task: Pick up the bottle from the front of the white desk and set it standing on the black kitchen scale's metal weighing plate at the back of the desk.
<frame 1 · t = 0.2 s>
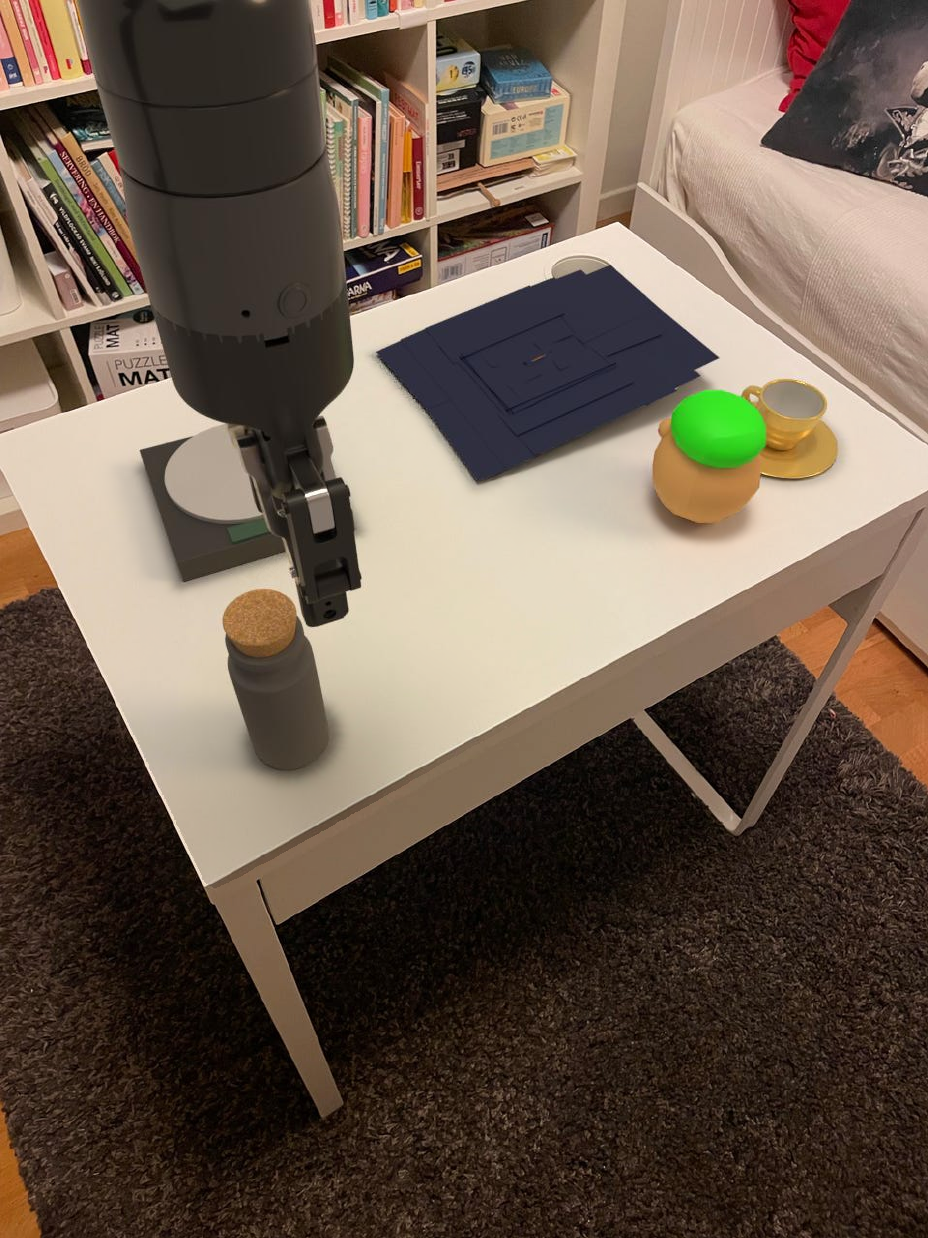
hand: (300, 559, 47), 25 cm above the table, tool pointing down, fingers open, 8 cm apart
scale: (247, 499, 85), on the table
bottle: (291, 738, 69), on the table
cup: (775, 442, 92), on the table
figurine: (690, 502, 86), on the table
papers: (544, 377, 98), on the table
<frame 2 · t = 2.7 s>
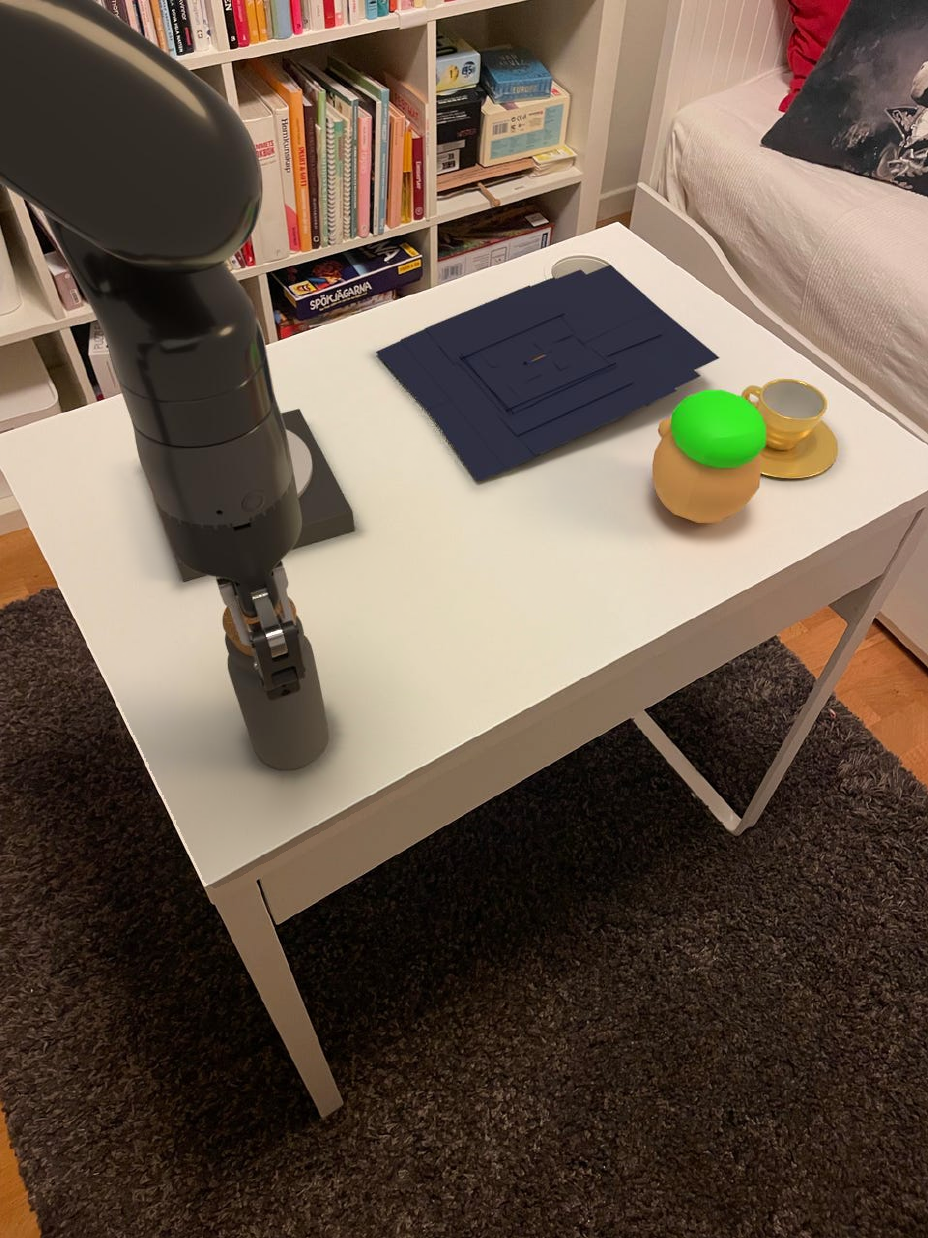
hand: (270, 656, 61), 11 cm above the table, tool pointing down, fingers closed on bottle, 5 cm apart
bottle: (291, 738, 69), on the table, touching gripper
everything else where it was.
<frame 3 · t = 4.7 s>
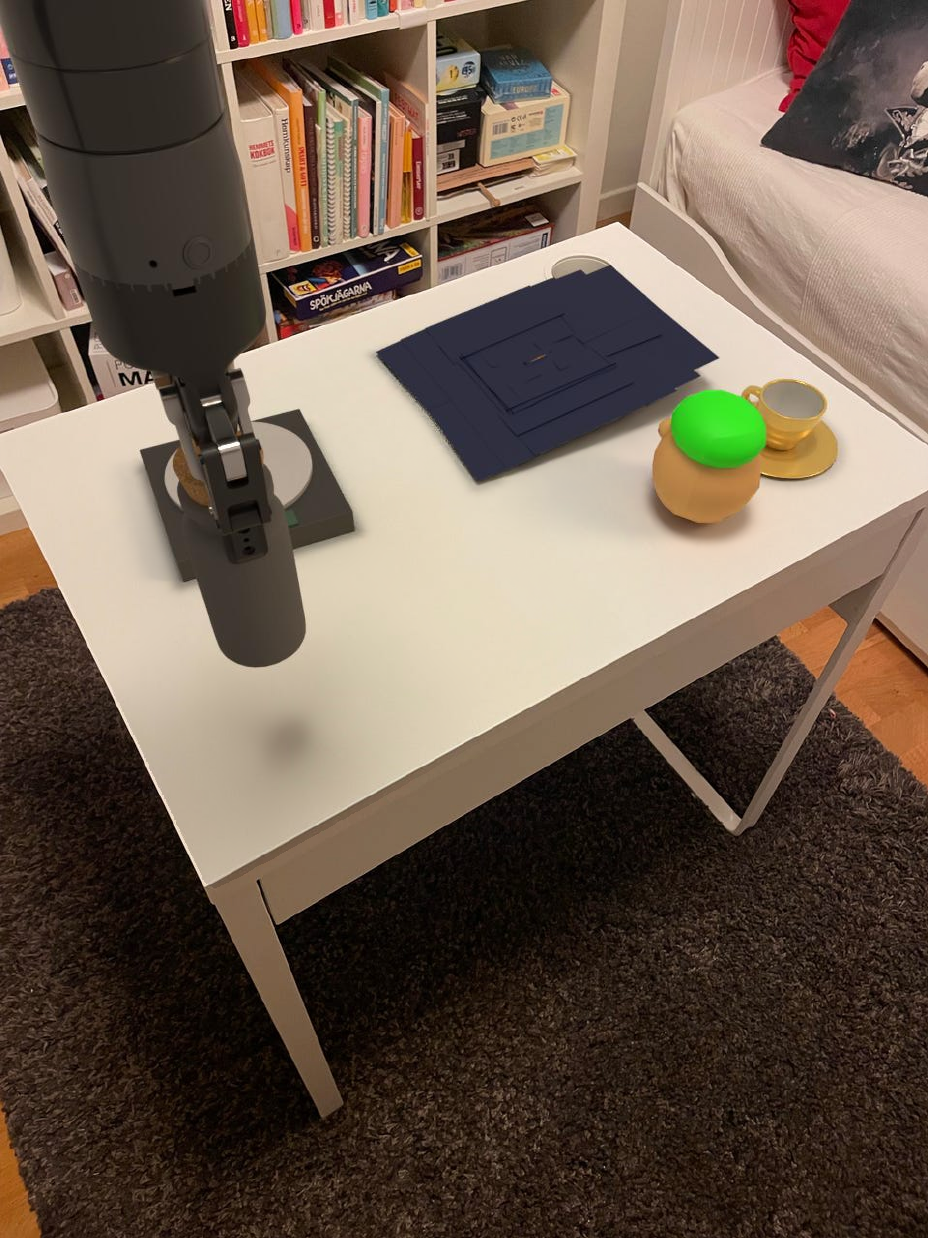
hand: (232, 517, 50), 24 cm above the table, tool pointing down, fingers closed on bottle, 5 cm apart
bottle: (262, 634, 59), point 13 cm above the table, touching gripper
everything else where it was.
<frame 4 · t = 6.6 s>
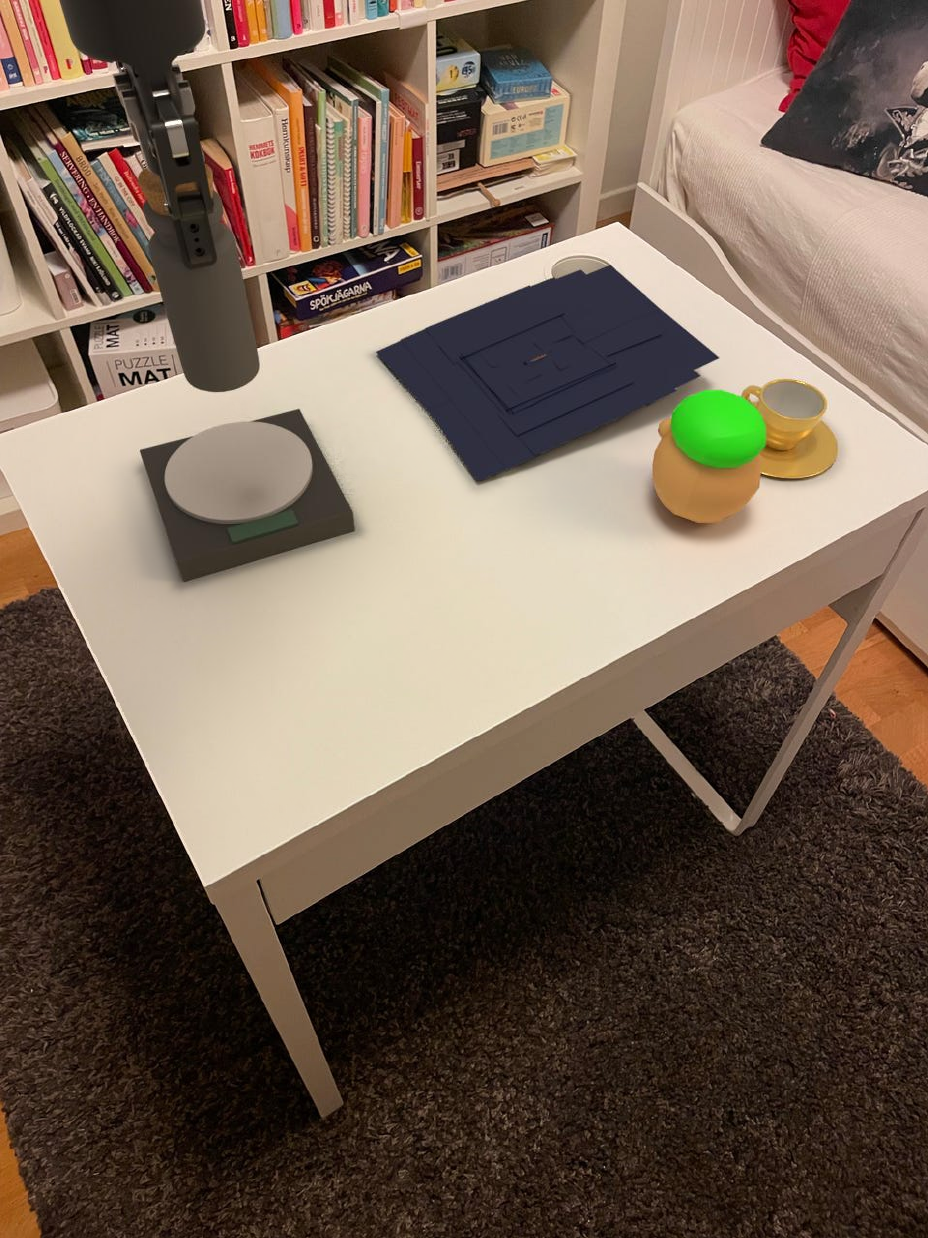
hand: (190, 240, 61), 28 cm above the table, tool pointing down, fingers closed on bottle, 5 cm apart
bottle: (223, 371, 69), point 17 cm above the table, touching gripper
everything else where it was.
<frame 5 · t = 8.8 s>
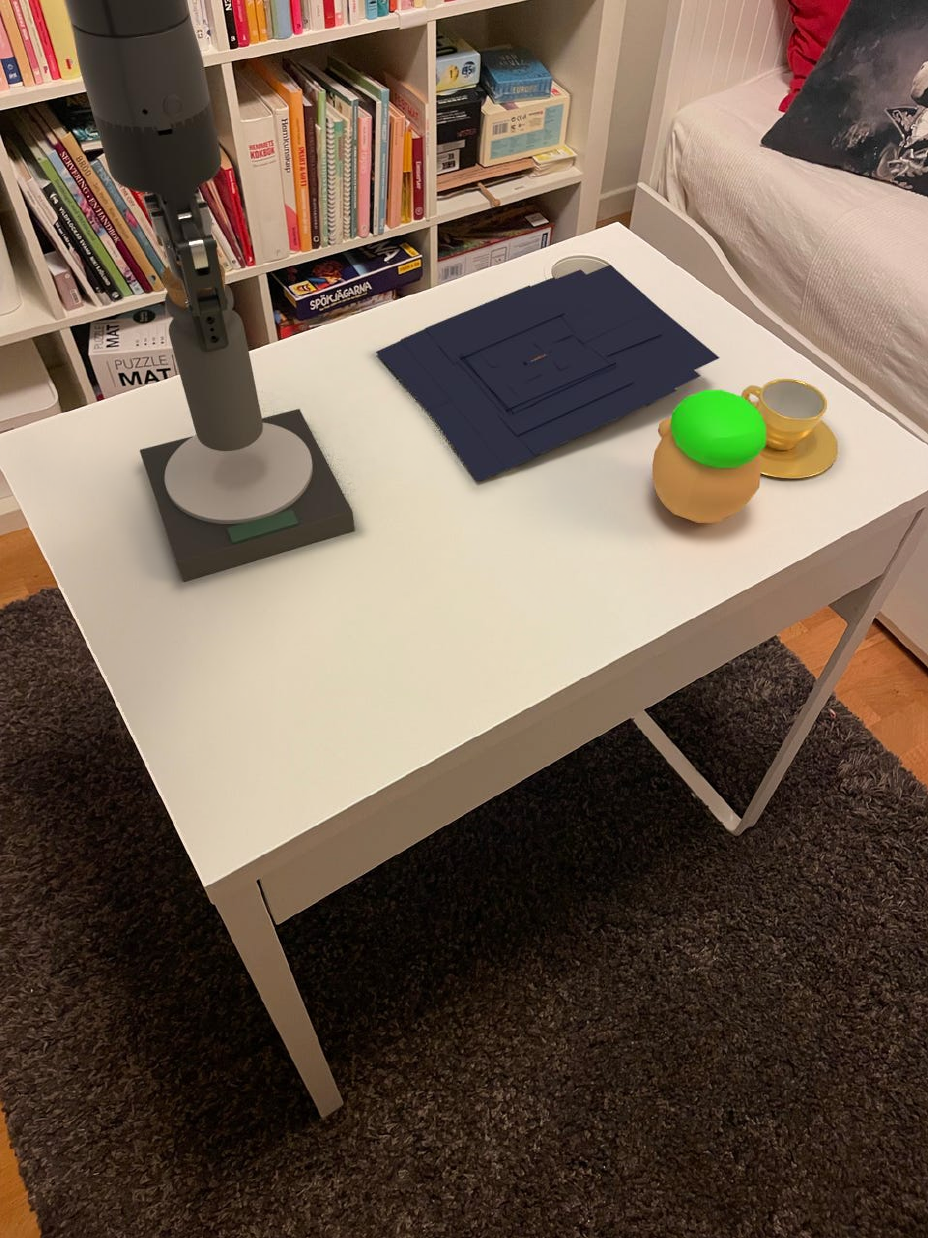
hand: (204, 325, 71), 19 cm above the table, tool pointing down, fingers closed on bottle, 5 cm apart
bottle: (230, 432, 79), point 8 cm above the table, touching gripper
everything else where it was.
when the fingers open (14 cm above the table, at t = 10.6 s): bottle stays where it is, resting on scale.
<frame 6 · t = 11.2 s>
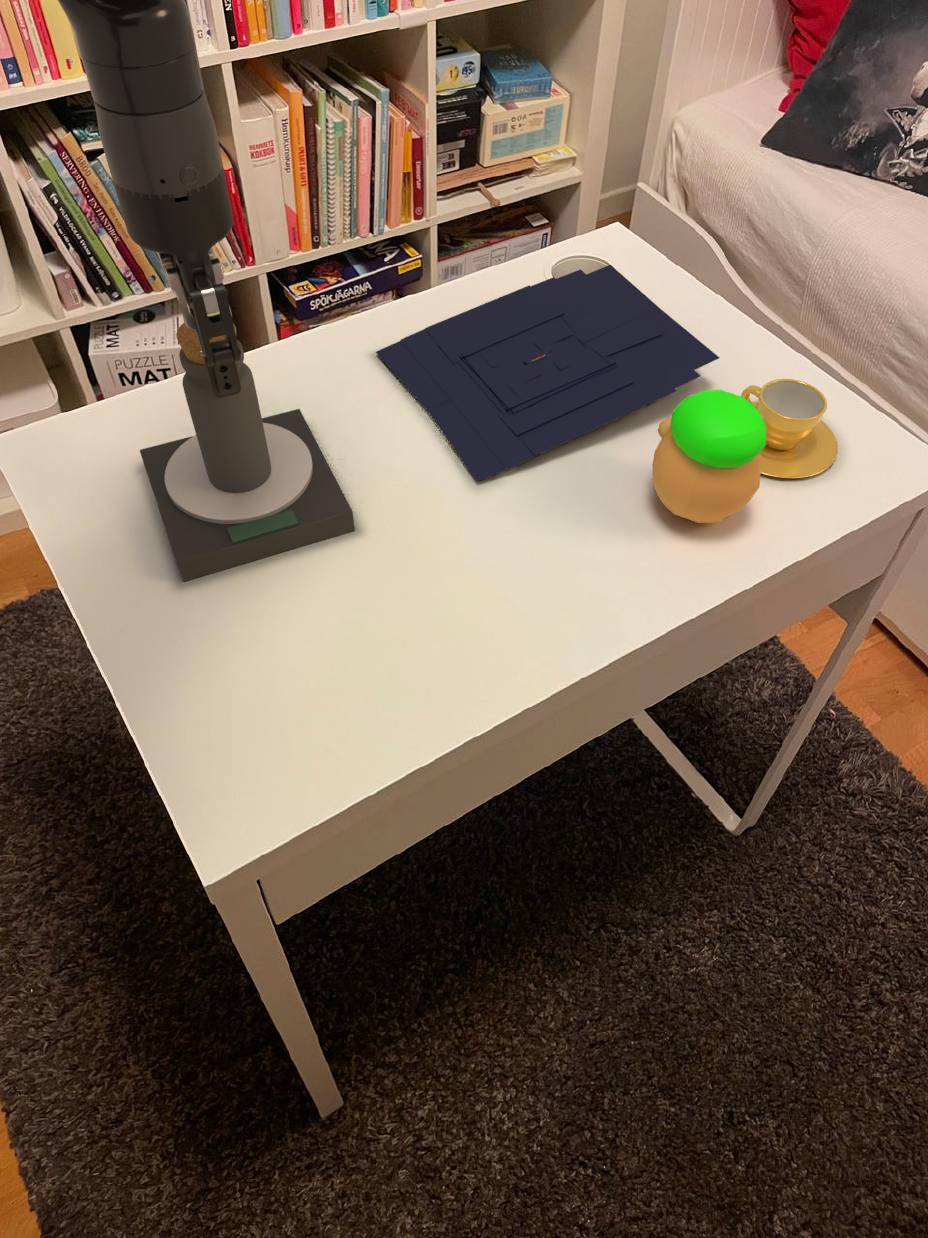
hand: (214, 363, 74), 15 cm above the table, tool pointing down, fingers open, 8 cm apart
bottle: (240, 473, 83), point 3 cm above the table, touching scale
everything else where it was.
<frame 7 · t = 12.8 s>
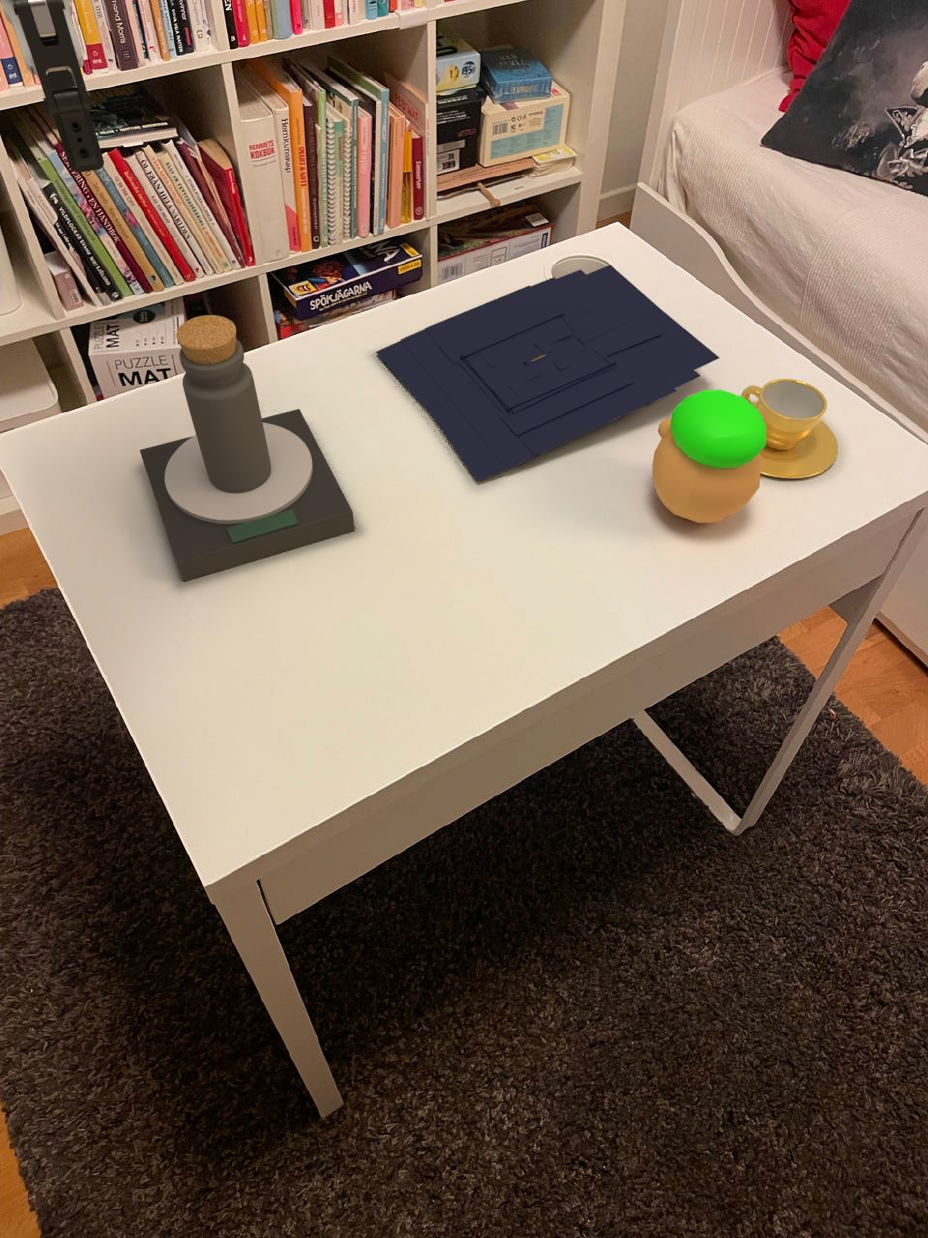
hand: (78, 141, 61), 32 cm above the table, tool pointing down, fingers open, 8 cm apart
nothing on the table moved.
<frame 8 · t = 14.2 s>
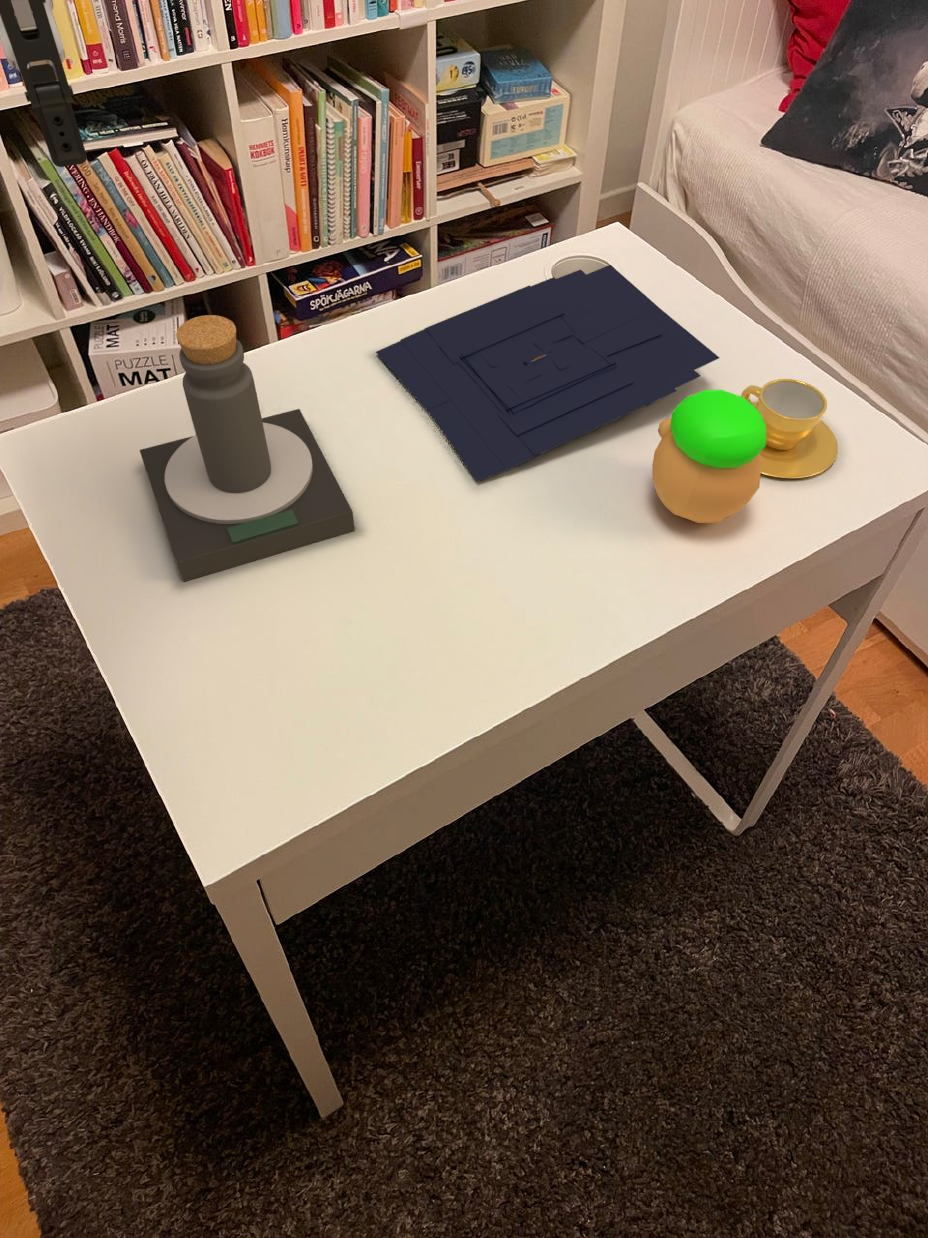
hand: (61, 136, 61), 32 cm above the table, tool pointing down, fingers open, 8 cm apart
nothing on the table moved.
at the end: bottle inside the target area on the scale (0.6 cm from its centre), point 2.9 cm above the scale's base; bottle tilted 0°; the gripper is holding nothing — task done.
